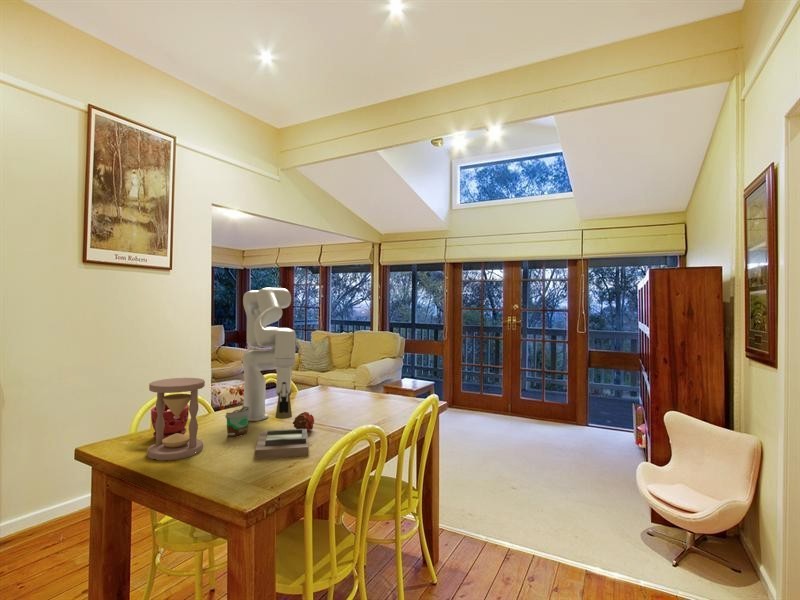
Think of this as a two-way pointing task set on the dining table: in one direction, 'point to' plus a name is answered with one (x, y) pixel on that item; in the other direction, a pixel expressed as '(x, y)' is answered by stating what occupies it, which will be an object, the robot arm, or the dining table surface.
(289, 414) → the brown rounded bulbous piece
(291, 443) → the dock
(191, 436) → the hourglass
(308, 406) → the dining table surface
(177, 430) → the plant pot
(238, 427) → the food container
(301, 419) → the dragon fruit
